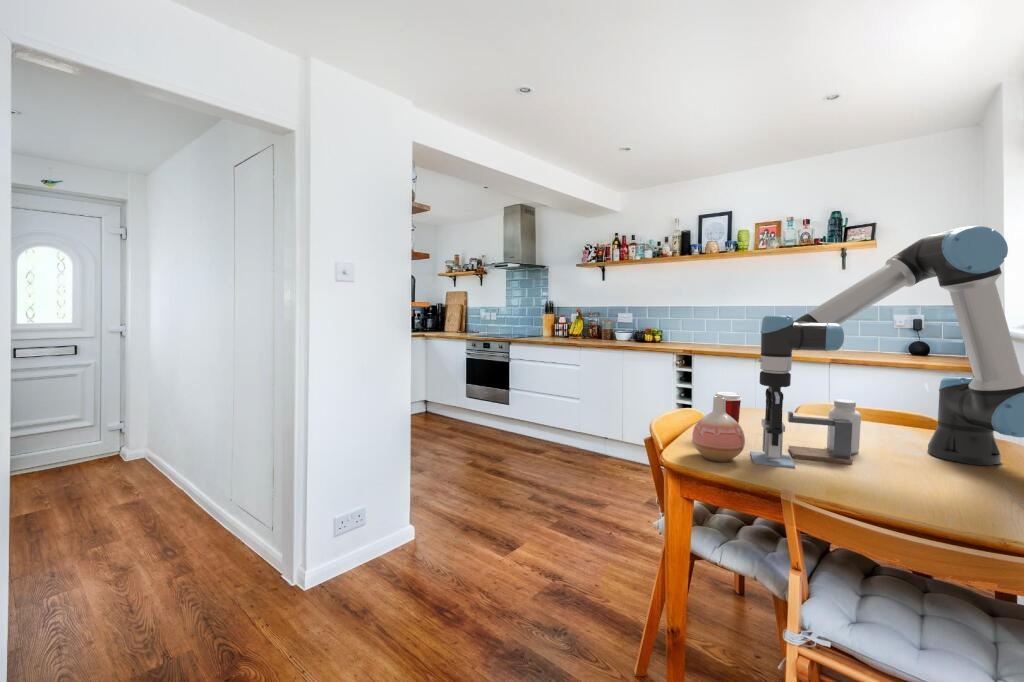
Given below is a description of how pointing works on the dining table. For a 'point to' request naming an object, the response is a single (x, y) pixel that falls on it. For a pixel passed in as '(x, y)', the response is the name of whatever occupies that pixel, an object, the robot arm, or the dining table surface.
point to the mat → (771, 460)
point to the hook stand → (838, 440)
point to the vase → (718, 434)
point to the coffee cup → (731, 404)
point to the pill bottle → (847, 411)
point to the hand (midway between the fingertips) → (771, 452)
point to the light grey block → (766, 428)
